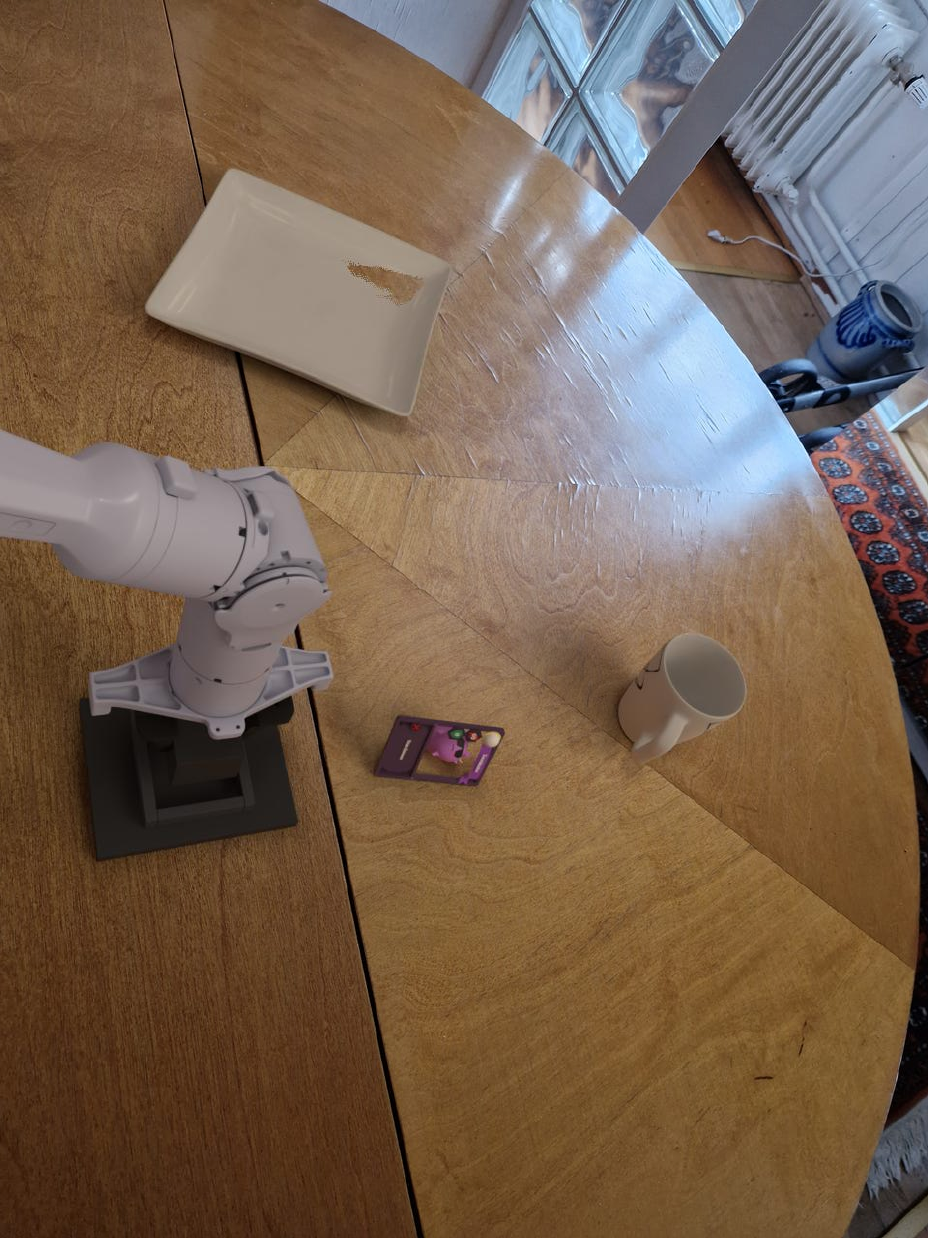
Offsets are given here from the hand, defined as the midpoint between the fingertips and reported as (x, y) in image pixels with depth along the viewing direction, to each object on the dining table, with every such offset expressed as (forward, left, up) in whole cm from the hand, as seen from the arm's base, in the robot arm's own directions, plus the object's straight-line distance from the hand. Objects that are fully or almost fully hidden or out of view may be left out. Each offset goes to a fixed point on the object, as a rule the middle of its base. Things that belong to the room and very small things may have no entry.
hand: (198, 733), depth 62 cm
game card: (+19, -2, -6) cm, 20 cm away
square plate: (+20, +50, -6) cm, 54 cm away
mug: (+41, -3, -6) cm, 42 cm away
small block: (0, 0, -1) cm, 1 cm away
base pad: (0, 0, -6) cm, 6 cm away
